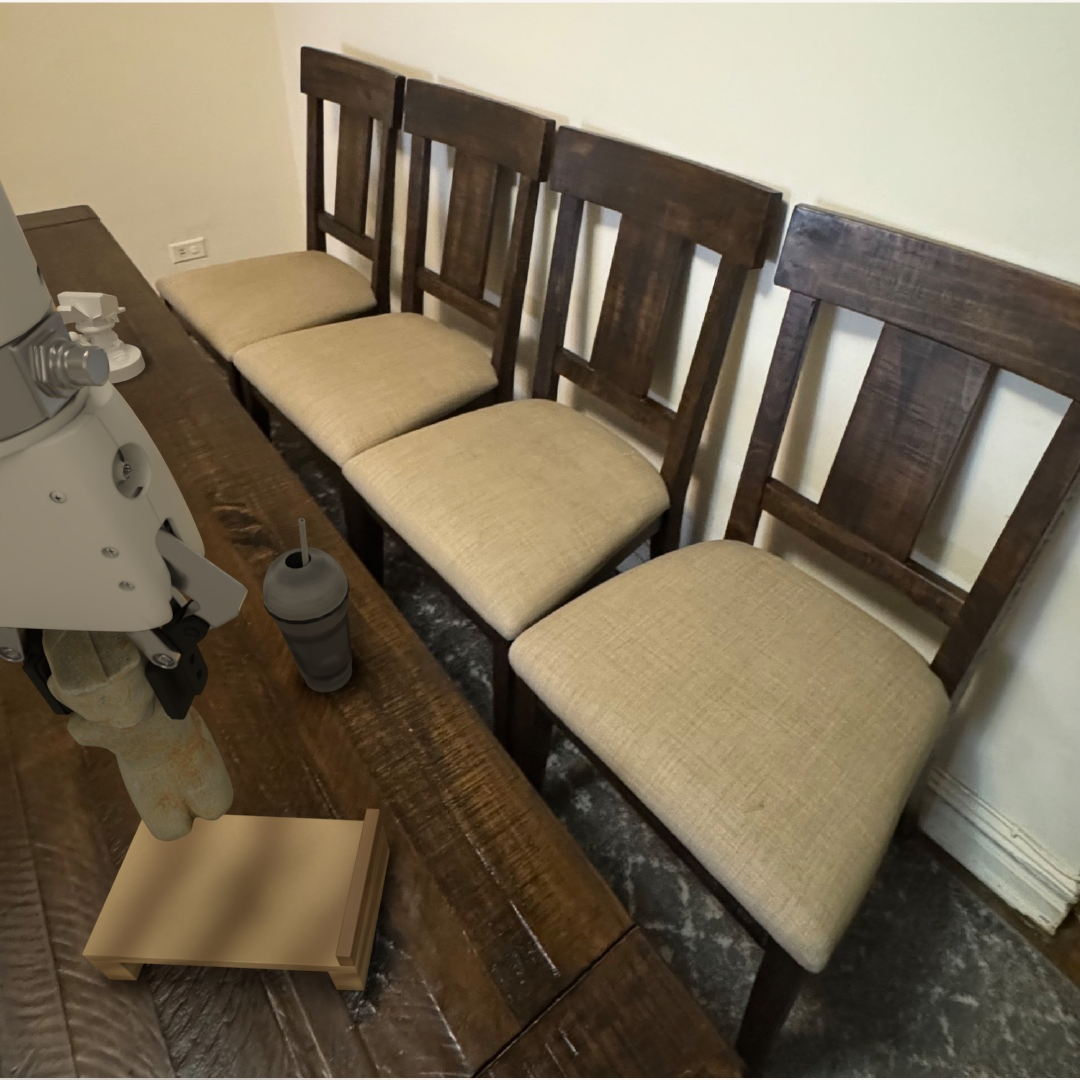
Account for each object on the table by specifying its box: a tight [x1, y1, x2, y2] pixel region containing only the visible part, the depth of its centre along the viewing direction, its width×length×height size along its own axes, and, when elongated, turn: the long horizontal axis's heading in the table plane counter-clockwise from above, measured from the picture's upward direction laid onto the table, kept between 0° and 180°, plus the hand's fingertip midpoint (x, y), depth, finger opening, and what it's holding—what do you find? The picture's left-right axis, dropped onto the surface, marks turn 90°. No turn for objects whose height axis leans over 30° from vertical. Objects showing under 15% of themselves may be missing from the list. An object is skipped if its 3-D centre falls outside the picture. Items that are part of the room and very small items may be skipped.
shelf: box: [81, 808, 390, 992], centre depth 53 cm, size 18×10×7 cm, turn 88°
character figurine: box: [56, 291, 146, 384], centre depth 107 cm, size 9×10×12 cm
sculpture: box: [42, 629, 234, 841], centre depth 39 cm, size 6×7×15 cm
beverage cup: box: [262, 517, 353, 693], centre depth 65 cm, size 7×7×20 cm
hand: (133, 690), depth 37 cm, fingers closed on sculpture, 4 cm apart
